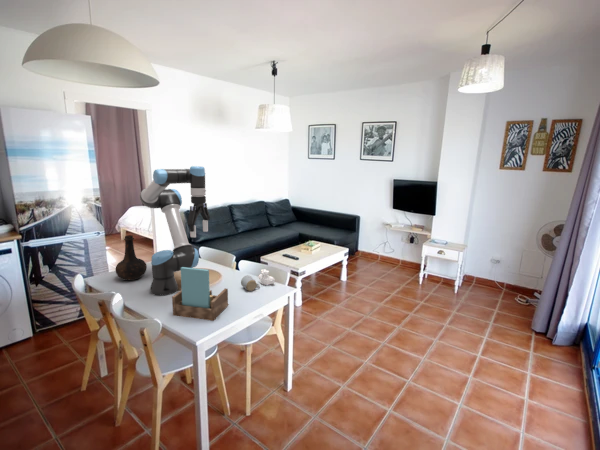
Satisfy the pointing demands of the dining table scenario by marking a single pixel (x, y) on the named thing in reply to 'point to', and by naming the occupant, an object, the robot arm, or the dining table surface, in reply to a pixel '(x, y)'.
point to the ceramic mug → (249, 283)
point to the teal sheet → (195, 287)
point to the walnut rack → (197, 312)
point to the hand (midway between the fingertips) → (199, 234)
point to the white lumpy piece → (266, 277)
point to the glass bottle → (130, 263)
